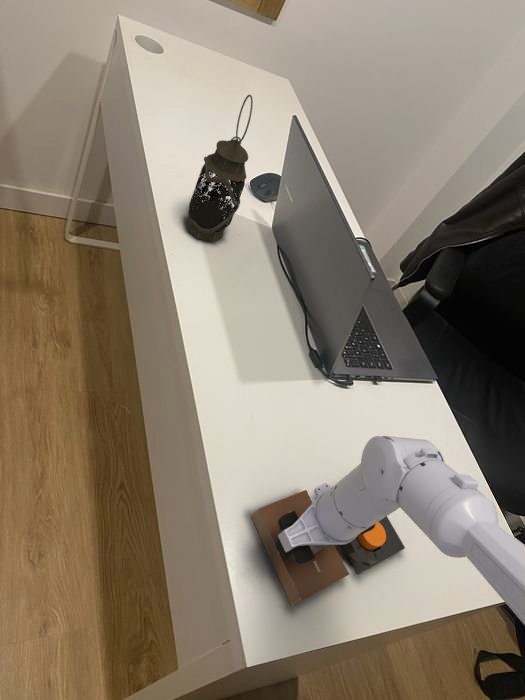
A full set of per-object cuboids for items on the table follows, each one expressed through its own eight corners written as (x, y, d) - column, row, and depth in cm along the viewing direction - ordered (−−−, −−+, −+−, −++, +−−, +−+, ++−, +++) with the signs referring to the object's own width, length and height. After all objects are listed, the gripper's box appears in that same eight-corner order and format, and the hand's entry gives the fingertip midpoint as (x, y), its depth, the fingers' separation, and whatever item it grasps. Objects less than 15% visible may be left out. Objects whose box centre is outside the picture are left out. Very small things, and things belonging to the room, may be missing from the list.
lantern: (182, 209, 102) (223, 74, 81) (224, 219, 105) (274, 91, 84) (183, 240, 96) (228, 103, 76) (228, 250, 99) (282, 121, 79)
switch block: (396, 552, 72) (412, 544, 69) (350, 578, 67) (365, 570, 64) (358, 483, 77) (371, 473, 74) (311, 503, 72) (324, 492, 69)
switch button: (384, 544, 68) (390, 540, 66) (365, 554, 66) (372, 550, 64) (370, 519, 69) (376, 515, 68) (351, 528, 67) (357, 524, 66)
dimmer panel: (339, 579, 66) (350, 573, 64) (290, 606, 62) (301, 601, 59) (298, 497, 71) (307, 488, 69) (250, 516, 67) (258, 508, 65)
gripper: (383, 452, 60) (331, 494, 70) (287, 489, 52) (244, 530, 62) (416, 506, 57) (357, 542, 67) (319, 554, 49) (269, 587, 59)
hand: (304, 540), depth 64 cm, fingers open, 7 cm apart
